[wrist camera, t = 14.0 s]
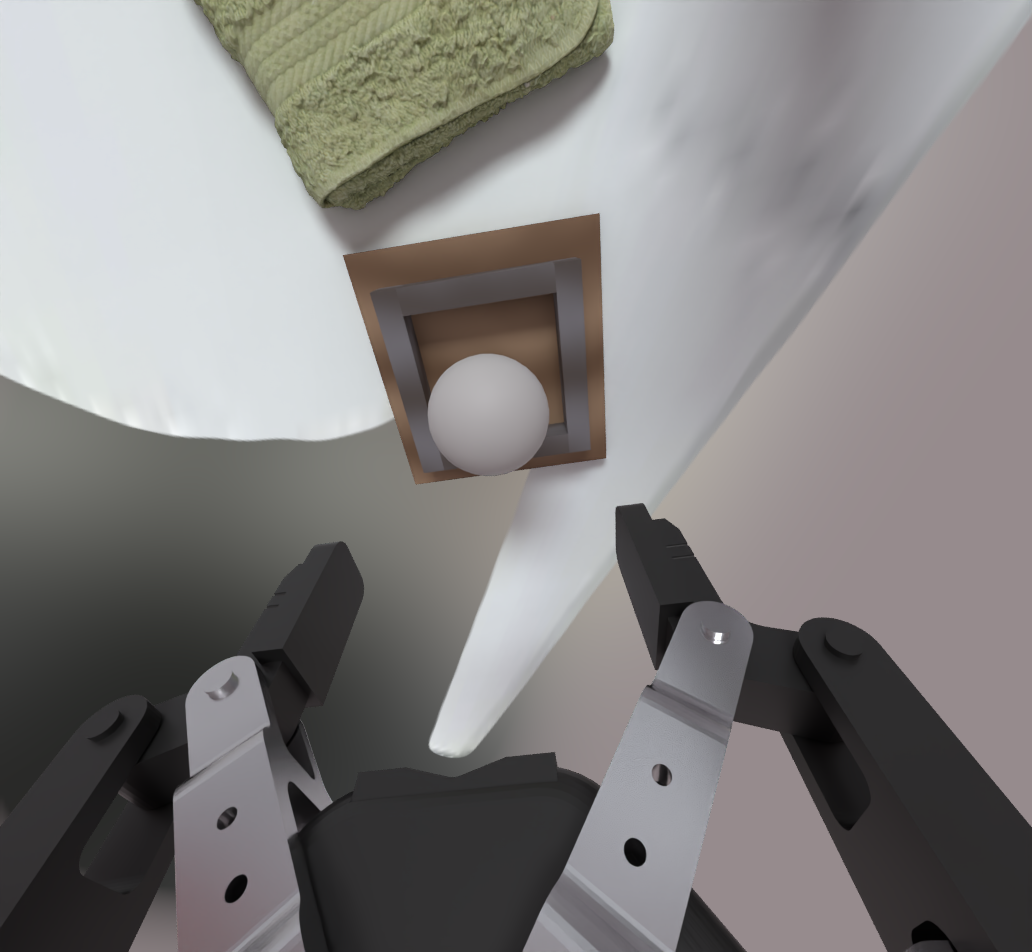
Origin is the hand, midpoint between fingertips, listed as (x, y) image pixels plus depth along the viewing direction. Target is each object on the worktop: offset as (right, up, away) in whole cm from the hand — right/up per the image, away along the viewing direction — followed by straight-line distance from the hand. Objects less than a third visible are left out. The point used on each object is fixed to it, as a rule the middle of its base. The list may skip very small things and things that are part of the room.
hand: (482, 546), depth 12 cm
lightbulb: (-1, +9, +16) cm, 18 cm away
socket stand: (-1, +10, +16) cm, 19 cm away
